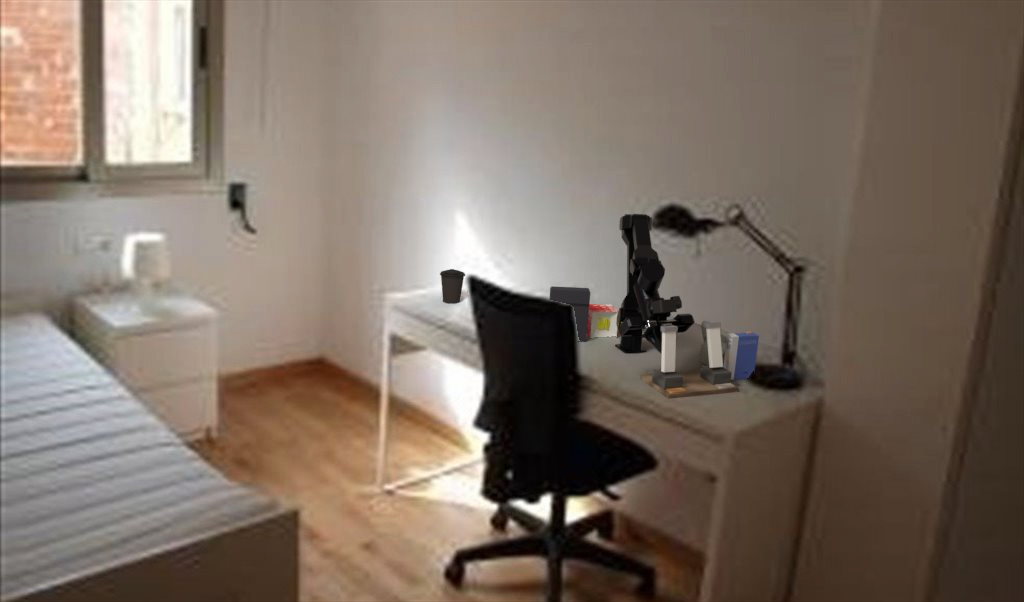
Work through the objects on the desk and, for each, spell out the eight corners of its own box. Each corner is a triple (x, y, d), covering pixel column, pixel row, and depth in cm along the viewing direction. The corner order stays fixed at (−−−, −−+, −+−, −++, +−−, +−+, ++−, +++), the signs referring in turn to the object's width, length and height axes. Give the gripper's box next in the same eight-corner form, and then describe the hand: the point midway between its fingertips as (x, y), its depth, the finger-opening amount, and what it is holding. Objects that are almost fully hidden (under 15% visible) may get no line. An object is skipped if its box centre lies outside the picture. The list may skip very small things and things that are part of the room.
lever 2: (707, 367, 240) (704, 323, 240) (720, 366, 241) (716, 322, 241) (712, 367, 238) (708, 322, 238) (724, 366, 239) (720, 322, 240)
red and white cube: (590, 338, 272) (592, 311, 270) (582, 330, 280) (584, 304, 278) (616, 338, 274) (619, 311, 272) (608, 330, 281) (611, 304, 279)
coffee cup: (454, 296, 307) (455, 266, 305) (469, 302, 301) (470, 272, 299) (433, 299, 302) (434, 269, 299) (448, 306, 296) (449, 275, 294)
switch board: (640, 378, 241) (641, 363, 240) (707, 372, 248) (709, 358, 247) (668, 398, 229) (669, 382, 228) (738, 391, 236) (740, 376, 235)
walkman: (747, 374, 249) (753, 331, 246) (753, 378, 246) (759, 334, 243) (721, 376, 246) (726, 332, 243) (726, 380, 244) (732, 335, 241)
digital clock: (748, 375, 249) (753, 336, 246) (716, 376, 247) (721, 336, 244) (722, 355, 264) (726, 318, 261) (691, 355, 262) (696, 318, 259)
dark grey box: (584, 337, 272) (588, 287, 268) (586, 342, 268) (590, 291, 264) (546, 336, 272) (550, 285, 268) (547, 340, 267) (551, 289, 263)
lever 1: (659, 371, 234) (660, 326, 233) (672, 370, 236) (673, 325, 234) (663, 372, 232) (664, 327, 231) (676, 371, 234) (677, 326, 232)
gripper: (628, 286, 231) (645, 343, 224) (695, 283, 238) (713, 339, 231) (611, 307, 240) (627, 363, 234) (676, 303, 247) (693, 358, 240)
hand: (665, 355), depth 234 cm, fingers closed, pressing on lever 1
